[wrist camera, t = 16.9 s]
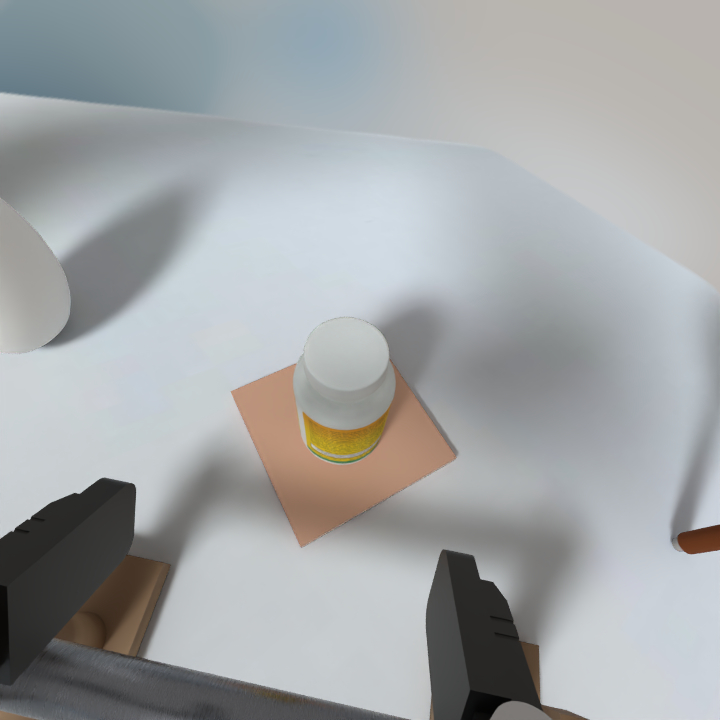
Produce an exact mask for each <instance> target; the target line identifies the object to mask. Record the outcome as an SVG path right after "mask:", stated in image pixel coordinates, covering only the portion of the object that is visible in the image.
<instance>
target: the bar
mask: <svg viewBox="0 0 720 720" xmlns="http://www.w3.org/2000/svg"><path fill="white" fill-rule="evenodd" d="M0 711H4V712H8V713H12V714H16V715H21V716H25V717H29V718H33V719H37V720H409V719H405V718H401V717H396V716H392V715H388V714H383V713H379V712H374V711H370V710H366V709H361V708H357V707H353V706H348V705H344V704H340V703H335V702H331V701H327V700H322V699H318V698H314V697H309V696H305V695H300V694H296V693H292V692H287V691H283V690H279V689H274V688H270V687H266V686H261V685H257V684H253V683H248V682H244V681H240V680H235V679H231V678H226V677H222V676H218V675H213V674H209V673H205V672H200V671H196V670H192V669H187V668H183V667H179V666H174V665H170V664H166V663H161V662H157V661H152V660H148V659H144V658H139V657H135V656H131V655H126V654H122V653H118V652H113V651H109V650H105V649H100V648H96V647H92V646H87V645H83V644H78V643H74V642H70V641H65V640H61V639H57V638H53V639H52V640H51V642H50V643H49V644H48V645H47V646H46V647H45V648H44V649H43V650H42V652H41V653H40V654H39V655H38V656H37V657H36V658H35V659H34V661H33V662H32V663H31V664H30V665H29V666H28V667H27V668H26V670H25V671H24V672H23V673H22V674H21V675H20V676H19V677H18V679H17V680H16V681H15V682H14V683H13V684H12V685H11V686H8V685H4V684H0Z"/></svg>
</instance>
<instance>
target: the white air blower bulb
mask: <svg viewBox="0 0 720 720" xmlns="http://www.w3.org/2000/svg"><path fill="white" fill-rule="evenodd" d="M70 307H71V295H70V289H69V285H68V282H67V279H66V275H65V273H64V271H63V268H62V266H61V265H60V263H59V261H58V259H57V258H56V256H55V255H54V253H53V252H52V250H51V249H50V248H49V246H48V245H47V243H46V242H45V241H44V240H43V238H42V237H41V236H40V235H39V233H38V232H37V231H36V230H35V229H34V228H33V227H32V226H31V225H30V224H29V222H28V221H27V220H26V219H25V218H23V217H22V216H21V215H20V214H19V213H18V212H17V211H16V210H15V209H14V208H12V207H11V206H10V205H9V204H8V203H7V202H5V201H4V200H3V199H2V198H0V353H6V354H20V353H26V352H30V351H33V350H35V349H38V348H40V347H42V346H44V345H45V344H47V343H48V342H50V341H51V340H52V339H53V338H55V337H56V336H57V335H58V334H59V333H60V332H61V330H62V329H63V328H64V326H65V325H66V323H67V321H68V318H69V316H70Z"/></svg>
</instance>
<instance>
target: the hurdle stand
mask: <svg viewBox="0 0 720 720" xmlns="http://www.w3.org/2000/svg"><path fill="white" fill-rule="evenodd" d="M170 566H171V565H170V564H166V563H162V562H158V561H153V560H149V559H144V558H140V557H135V556H131V555H126V557H125V558H124V559H123V561H122V562H121V563H120V564H119V565H118V566H117V568H116V569H115V570H114V571H113V572H112V573H111V574H110V575H109V577H108V578H107V579H106V580H105V581H104V582H103V583H102V584H101V586H100V587H99V588H98V589H97V590H96V591H95V592H94V593H93V594H92V596H91V597H90V598H89V599H88V600H87V601H86V602H85V603H84V605H83V606H82V607H81V608H80V609H79V610H78V611H77V612H76V614H75V615H74V616H73V617H72V618H71V619H70V620H69V621H68V622H67V624H66V625H65V626H64V627H63V628H62V629H61V630H60V631H59V633H58V634H57V635H56V636H55V637H54V638H57V639H61V640H65V641H70V642H74V643H78V644H83V645H87V646H92V647H96V648H100V649H105V650H109V651H113V652H118V653H122V654H126V655H131V656H135V657H136V655H137V652H138V650H139V647H140V644H141V642H142V639H143V637H144V634H145V631H146V629H147V626H148V623H149V621H150V618H151V616H152V613H153V610H154V608H155V605H156V602H157V600H158V597H159V595H160V592H161V589H162V587H163V584H164V581H165V579H166V576H167V574H168V571H169V568H170ZM519 642H520V641H519ZM521 645H522V648H523V651H524V654H525V658H526V661H527V664H528V667H529V670H530V673H531V676H532V679H533V682H534V685H535V688H536V691H537V694H538V697H539V700H540V678H539V645H534V644H529V643H525V642H521ZM541 706H542V709H543V712H544V713H545V714H547V715H548V716H549V717H550V718H551V719H552V720H588V719H586V718H584V717H581V716H579V715H577V714H574V713H572V712H569V711H567V710H563V709H558V708H554V707H549V706H545V705H541ZM0 720H37V719H33V718H29V717H25V716H21V715H16V714H12V713H8V712H4V711H0ZM430 720H434V716H433V704H432V697H431V709H430Z"/></svg>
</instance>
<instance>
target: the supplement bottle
mask: <svg viewBox="0 0 720 720" xmlns="http://www.w3.org/2000/svg"><path fill="white" fill-rule="evenodd" d="M389 357H390V353H389V347H388V343H387V341H386V339H385V337H384V336H383V334H382V333H381V332H380V331H379V330H378V329H377V328H376V327H375V326H373V325H372V324H370V323H368V322H366V321H364V320H361V319H357V318H352V317H340V318H335V319H331V320H328V321H326V322H324V323H322V324H320V325H319V326H317V327H316V328H315V329H314V330H313V331H312V333H311V334H310V335H309V337H308V338H307V340H306V343H305V346H304V353H303V354H302V356H301V357H300V359H299V361H298V362H297V365H296V367H295V371H294V375H293V390H294V397H295V403H296V408H297V414H298V421H299V428H300V433H301V437H302V439H303V442H304V443H305V445H306V447H307V448H308V449H309V451H310V452H311V453H312V454H313V455H315V456H316V457H317V458H319V459H321V460H323V461H325V462H328V463H331V464H336V465H349V464H353V463H356V462H359V461H361V460H363V459H364V458H366V457H367V456H369V455H370V454H371V453H372V452H373V451H374V449H375V448H376V446H377V445H378V443H379V440H380V438H381V435H382V432H383V429H384V426H385V423H386V420H387V416H388V413H389V410H390V406H391V404H392V401H393V398H394V394H395V387H396V380H395V373H394V369H393V367H392V364H391V362H390V360H389Z"/></svg>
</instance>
